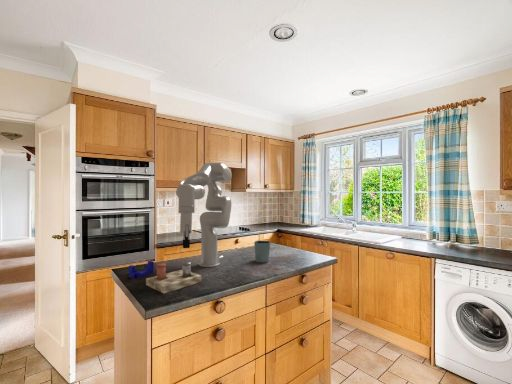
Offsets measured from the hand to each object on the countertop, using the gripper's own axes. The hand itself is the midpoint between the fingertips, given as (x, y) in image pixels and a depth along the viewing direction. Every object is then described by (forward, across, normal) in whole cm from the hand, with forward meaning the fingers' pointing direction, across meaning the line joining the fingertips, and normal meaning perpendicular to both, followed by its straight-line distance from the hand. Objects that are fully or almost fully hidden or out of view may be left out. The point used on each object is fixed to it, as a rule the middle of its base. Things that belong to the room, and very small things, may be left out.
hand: (186, 247), depth 131 cm
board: (+17, -1, -5) cm, 18 cm away
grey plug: (+14, -1, 0) cm, 14 cm away
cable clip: (+17, -19, -21) cm, 33 cm away
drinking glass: (+16, -28, +49) cm, 58 cm away
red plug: (+14, -1, -11) cm, 18 cm away
